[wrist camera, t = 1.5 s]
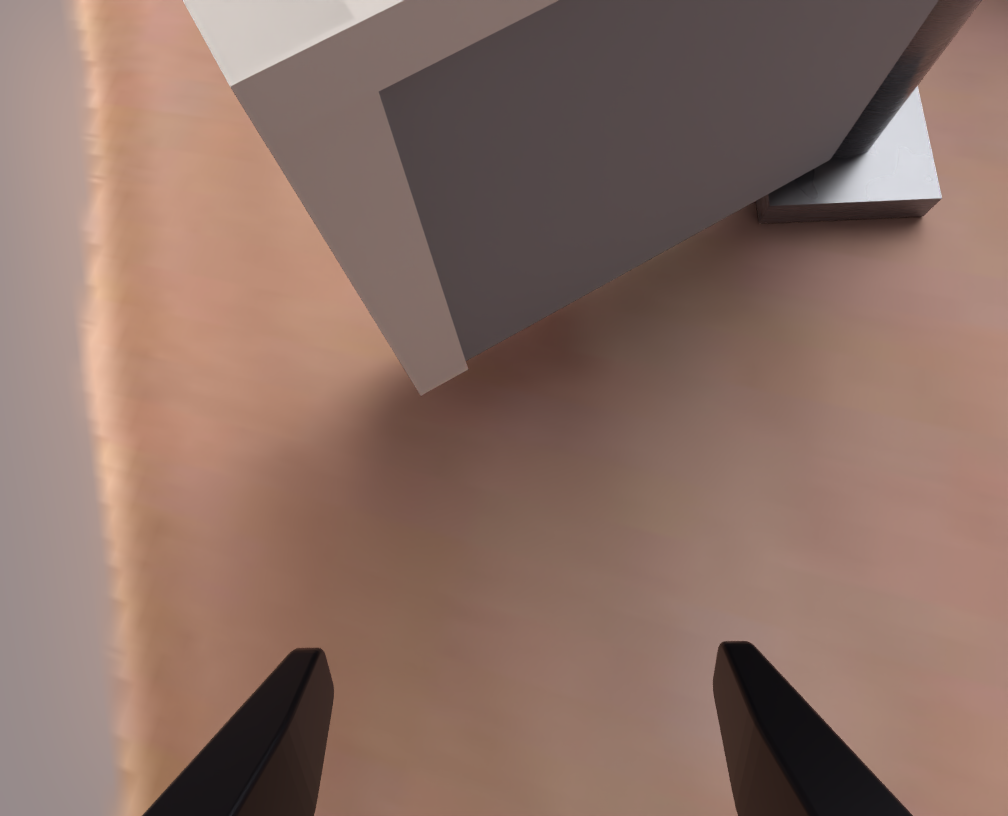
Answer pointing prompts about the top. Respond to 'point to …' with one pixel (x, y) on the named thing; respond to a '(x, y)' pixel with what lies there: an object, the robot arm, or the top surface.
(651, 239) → the grey flat upright panel
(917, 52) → the post
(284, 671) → the robot arm
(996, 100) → the top surface
